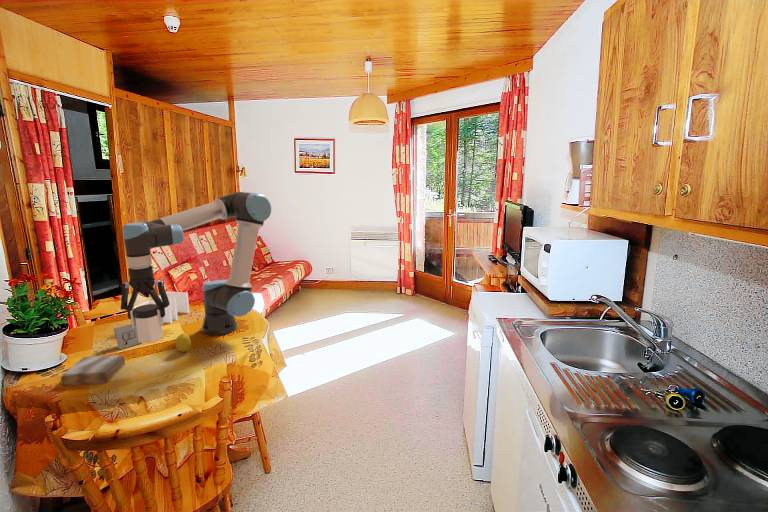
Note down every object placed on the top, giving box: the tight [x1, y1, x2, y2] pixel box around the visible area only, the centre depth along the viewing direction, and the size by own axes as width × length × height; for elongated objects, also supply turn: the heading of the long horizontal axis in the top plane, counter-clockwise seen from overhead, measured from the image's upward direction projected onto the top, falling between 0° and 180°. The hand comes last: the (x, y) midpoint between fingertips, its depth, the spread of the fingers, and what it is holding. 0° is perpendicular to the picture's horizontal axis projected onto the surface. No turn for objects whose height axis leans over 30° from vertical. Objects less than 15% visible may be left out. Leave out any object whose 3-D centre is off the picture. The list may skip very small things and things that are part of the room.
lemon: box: [175, 333, 192, 353], centre depth 166 cm, size 6×6×8 cm
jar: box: [134, 304, 164, 344], centre depth 150 cm, size 9×8×12 cm
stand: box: [60, 354, 126, 387], centre depth 148 cm, size 14×14×4 cm
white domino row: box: [132, 291, 190, 324], centre depth 198 cm, size 25×11×11 cm, turn 173°
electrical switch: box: [113, 322, 141, 350], centre depth 172 cm, size 9×5×9 cm, turn 141°
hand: (148, 325), depth 151 cm, fingers closed on jar, 8 cm apart
